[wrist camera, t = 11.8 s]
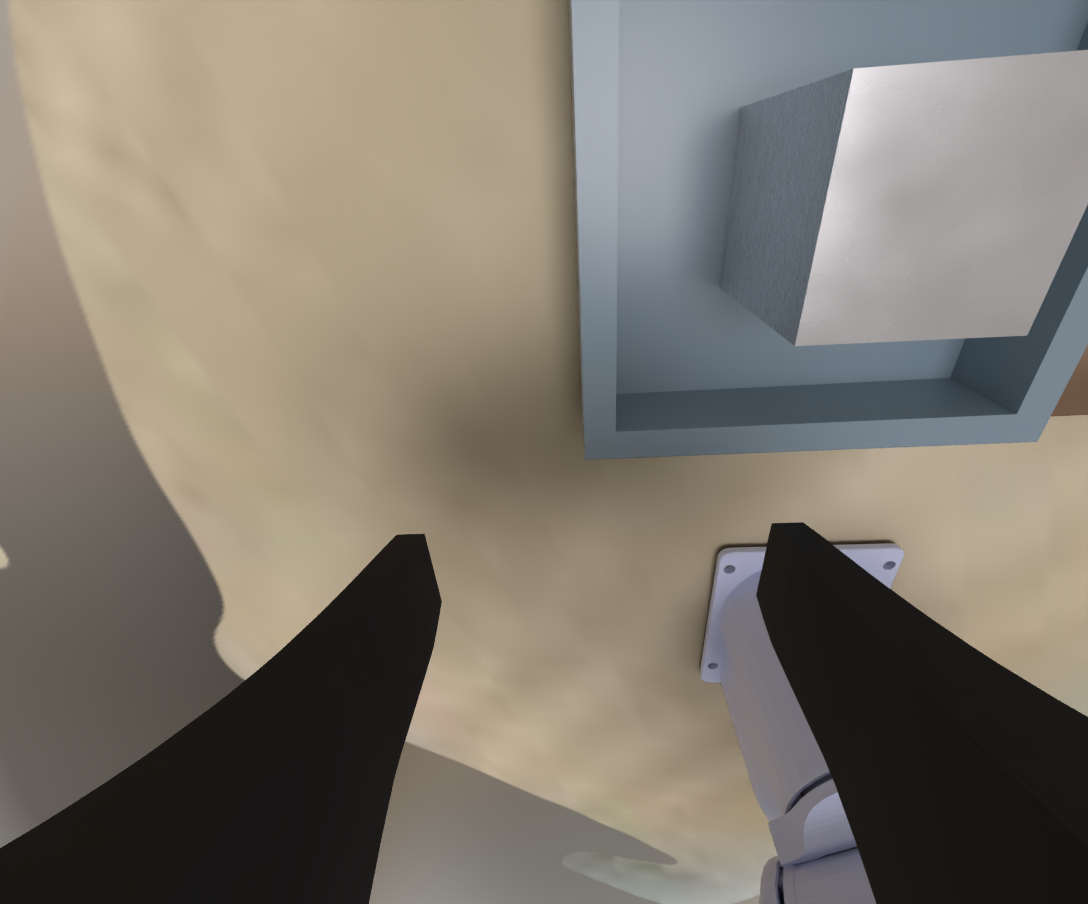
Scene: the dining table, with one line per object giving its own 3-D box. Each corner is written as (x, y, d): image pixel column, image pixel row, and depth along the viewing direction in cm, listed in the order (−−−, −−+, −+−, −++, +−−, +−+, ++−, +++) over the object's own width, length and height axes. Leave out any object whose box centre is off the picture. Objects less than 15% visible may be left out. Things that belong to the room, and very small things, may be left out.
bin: (957, 395, 18) (1036, 441, 15) (581, 413, 19) (585, 459, 16) (1187, -177, 11) (1428, -310, 8) (564, -103, 12) (565, -197, 9)
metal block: (922, 93, 13) (1161, 44, 8) (871, 279, 15) (1027, 335, 10) (740, 107, 13) (853, 68, 8) (718, 287, 16) (795, 346, 10)
